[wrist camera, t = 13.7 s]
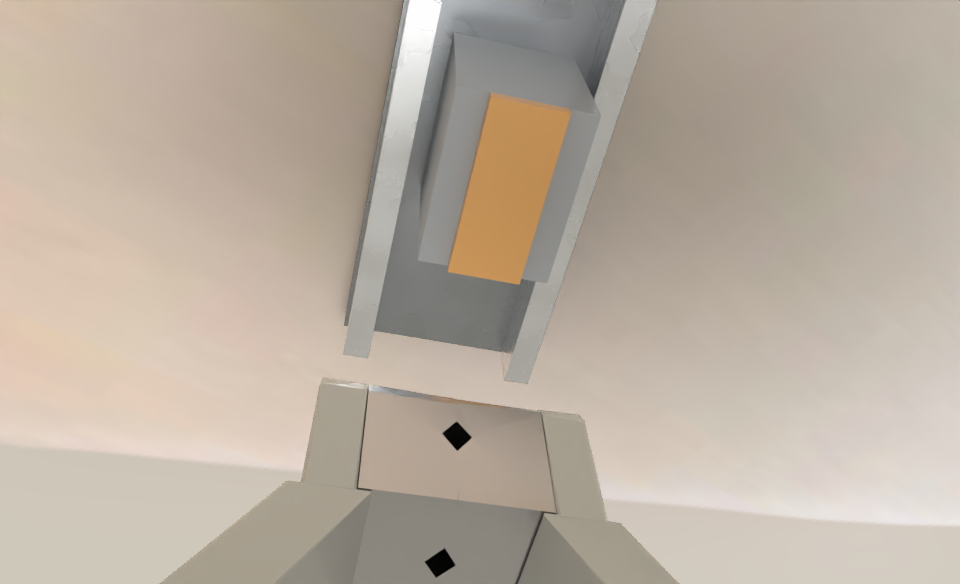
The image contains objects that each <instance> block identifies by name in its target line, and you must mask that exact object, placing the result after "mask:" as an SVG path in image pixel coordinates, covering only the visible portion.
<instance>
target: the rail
mask: <svg viewBox="0 0 960 584" xmlns="http://www.w3.org/2000/svg"><path fill="white" fill-rule="evenodd" d="M657 1H658V0H404V2H403V8H402V13H401V19H400V24H399V29H398V35H397V40H396V46H395V51H394V57H393V62H392V67H391V73H390V78H389V84H388V89H387V95H386V100H385V105H384V111H383V116H382V122H381V127H380V133H379V138H378V143H377V149H376V154H375V160H374V165H373V171H372V176H371V181H370V187H369V192H368V198H367V203H366V209H365V214H364V219H363V225H362V230H361V236H360V241H359V247H358V252H357V257H356V263H355V268H354V274H353V279H352V285H351V290H350V295H349V301H348V306H347V312H346V317H345V324H344V326H348V327H347V334H346V340H345V347H344V353H343V354H344V355H350V356H356V357H363V358H368V356H369V351H370V346H371V341H372V336H373V332H374V331H380V332H386V333H392V334H398V335H404V336H410V337H416V338H422V339H428V340H434V341H440V342H446V343H452V344H458V345H464V346H470V347H476V348H482V349H488V350H494V351H500V352H501V355H502V364H503V374H504V380H505V381H511V382H517V383H524V384H528V381H529V378H530V375H531V372H532V369H533V366H534V363H535V360H536V357H537V354H538V351H539V349H540V346H541V343H542V340H543V337H544V334H545V331H546V328H547V325H548V322H549V319H550V316H551V313H552V310H553V307H554V304H555V301H556V298H557V295H558V293H559V290H560V287H561V284H562V281H563V278H564V275H565V272H566V269H567V266H568V263H569V260H570V257H571V254H572V251H573V248H574V245H575V242H576V240H577V237H578V234H579V231H580V228H581V225H582V222H583V219H584V216H585V213H586V210H587V207H588V204H589V201H590V198H591V195H592V192H593V189H594V186H595V184H596V181H597V178H598V175H599V172H600V169H601V166H602V163H603V160H604V157H605V154H606V151H607V148H608V145H609V142H610V139H611V136H612V133H613V130H614V128H615V125H616V122H617V119H618V116H619V113H620V110H621V107H622V104H623V101H624V98H625V95H626V92H627V89H628V86H629V83H630V80H631V77H632V74H633V72H634V69H635V66H636V63H637V60H638V57H639V54H640V51H641V48H642V45H643V42H644V39H645V36H646V33H647V30H648V27H649V24H650V21H651V18H652V16H653V13H654V10H655V7H656V4H657ZM453 33H459V34H463V35H468V36H472V37H477V38H481V39H485V40H490V41H494V42H499V43H503V44H508V45H512V46H517V47H521V48H526V49H530V50H535V51H539V52H544V53H548V54H553V55H557V56H562V57H566V58H571V59H575V61H576V63H577V65H578V67H579V69H580V71H581V73H582V76H583V78H584V80H585V82H586V84H587V86H588V88H589V90H590V93H591V95H592V97H593V99H594V101H595V103H596V105H597V107H598V110H599V112H600V114H601V118H600V121H599V125H598V128H597V131H596V134H595V137H594V140H593V143H592V146H591V149H590V152H589V156H588V159H587V162H586V165H585V168H584V171H583V174H582V177H581V180H580V183H579V187H578V190H577V193H576V196H575V199H574V202H573V205H572V208H571V211H570V214H569V218H568V221H567V224H566V227H565V230H564V233H563V236H562V239H561V242H560V246H559V249H558V252H557V255H556V258H555V261H554V264H553V267H552V270H551V273H550V277H549V280H548V283H541V282H536V281H530V280H525V279H521V281H520V284H519V285H518V284H512V283H507V282H501V281H495V280H490V279H484V278H478V277H473V276H467V275H461V274H456V273H450V272H448V266H446V265H440V264H435V263H429V262H423V261H418V242H419V215H420V188H421V183H422V178H423V173H424V169H425V164H426V159H427V154H428V150H429V145H430V140H431V136H432V131H433V126H434V122H435V117H436V112H437V108H438V103H439V98H440V94H441V89H442V84H443V80H444V75H445V70H446V66H447V61H448V56H449V51H450V47H451V42H452V37H453Z"/></svg>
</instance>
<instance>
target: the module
mask: <svg viewBox="0 0 960 584" xmlns="http://www.w3.org/2000/svg"><path fill="white" fill-rule="evenodd" d="M600 118H601V114H600V112H599V110H598V107H597V105H596V103H595V101H594V99H593V97H592V95H591V93H590V90H589V88H588V86H587V84H586V82H585V80H584V78H583V76H582V73H581V71H580V69H579V67H578V65H577V63H576V61H575V59H571V58H566V57H562V56H557V55H553V54H548V53H544V52H539V51H535V50H530V49H526V48H521V47H517V46H512V45H508V44H503V43H499V42H494V41H490V40H485V39H481V38H477V37H472V36H468V35H463V34H459V33H453V37H452V42H451V47H450V51H449V56H448V61H447V66H446V70H445V75H444V80H443V84H442V89H441V94H440V98H439V103H438V108H437V112H436V117H435V122H434V126H433V131H432V136H431V140H430V145H429V150H428V154H427V159H426V164H425V169H424V173H423V178H422V183H421V188H420V215H419V242H418V261H423V262H429V263H435V264H440V265H446V266H448V272H450V273H456V274H461V275H467V276H473V277H478V278H484V279H490V280H495V281H501V282H507V283H512V284H518V285H519V284H520V281H521V279H525V280H530V281H536V282H541V283H548V280H549V277H550V273H551V270H552V267H553V264H554V261H555V258H556V255H557V252H558V249H559V246H560V242H561V239H562V236H563V233H564V230H565V227H566V224H567V221H568V218H569V214H570V211H571V208H572V205H573V202H574V199H575V196H576V193H577V190H578V187H579V183H580V180H581V177H582V174H583V171H584V168H585V165H586V162H587V159H588V156H589V152H590V149H591V146H592V143H593V140H594V137H595V134H596V131H597V128H598V125H599V121H600Z"/></svg>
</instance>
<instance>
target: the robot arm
mask: <svg viewBox="0 0 960 584" xmlns="http://www.w3.org/2000/svg"><path fill="white" fill-rule="evenodd" d="M160 584H679V583H678V582H677V581H676V580H675V579H674V578H673V577H672V576H671V575H670V574H669V573H668V572H667V571H666V570H665V569H664V568H663V567H662V566H661V565H660V563H659V562H657V560H656V559H655V558H654V557H653V556H652V555H651V554H650V553H649V552H648V551H647V550H646V549H645V548H644V547H643V546H642V545H641V544H640V543H639V542H638V541H637V540H636V539H635V538H634V537H633V536H632V535H631V534H630V533H629V532H628V531H627V529H626V528H625V527H624V526H622V524H621V523H616V522H609V521H607V516H606V512H605V508H604V503H603V499H602V494H601V490H600V486H599V481H598V477H597V473H596V468H595V464H594V460H593V455H592V451H591V446H590V442H589V438H588V433H587V429H586V425H585V421H584V420H583V418H582V417H581V416H580V415H576V414H568V413H559V412H551V411H543V410H538V411H534V410H527V409H520V408H512V407H505V406H498V405H491V404H484V403H477V402H470V401H463V400H456V399H452V398H446V397H440V396H434V395H428V394H422V393H416V392H410V391H404V390H399V389H393V388H387V387H381V386H375V385H368V389H367V386H366V384H360V383H354V382H347V381H341V380H335V379H329V378H323V379H322V381H321V384H320V386H319V392H318V397H317V402H316V407H315V412H314V417H313V422H312V428H311V433H310V438H309V443H308V448H307V453H306V458H305V464H304V469H303V474H302V479H301V482H294V481H286V482H285V483H284V484H282V485H281V486H280V487H279V488H277V489H276V490H275V491H274V492H272V493H271V494H270V495H269V496H267V497H266V498H265V499H264V500H262V501H261V502H260V503H259V504H258V505H256V506H255V507H254V508H253V509H251V510H250V511H249V512H248V513H246V514H245V515H244V516H243V517H242V518H240V519H239V520H238V521H237V522H235V523H234V524H233V525H232V526H230V527H229V528H228V529H227V530H225V531H224V532H223V533H222V534H220V535H219V536H218V537H217V538H215V539H214V540H213V541H212V542H211V543H209V544H208V545H207V546H206V547H204V548H203V549H202V550H201V551H200V552H198V553H197V554H196V555H194V556H193V557H192V558H191V559H190V560H188V561H187V562H186V563H185V564H184V565H182V566H181V567H180V568H178V569H177V570H176V571H175V572H173V573H172V574H171V575H170V576H169V577H167V578H166V579H165V580H164V581H162V582H161V583H160Z"/></svg>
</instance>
